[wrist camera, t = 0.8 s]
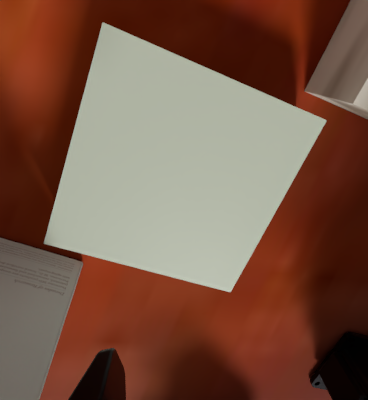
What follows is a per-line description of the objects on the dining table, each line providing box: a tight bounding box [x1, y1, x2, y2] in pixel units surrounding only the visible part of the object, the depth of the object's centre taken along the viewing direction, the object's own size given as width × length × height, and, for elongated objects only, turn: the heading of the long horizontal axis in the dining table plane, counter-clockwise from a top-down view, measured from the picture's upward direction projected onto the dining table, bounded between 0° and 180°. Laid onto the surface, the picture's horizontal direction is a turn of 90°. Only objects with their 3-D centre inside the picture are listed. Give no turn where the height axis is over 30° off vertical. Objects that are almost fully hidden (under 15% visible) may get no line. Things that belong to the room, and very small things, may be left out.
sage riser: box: [44, 22, 327, 292], centre depth 18 cm, size 11×11×4 cm
